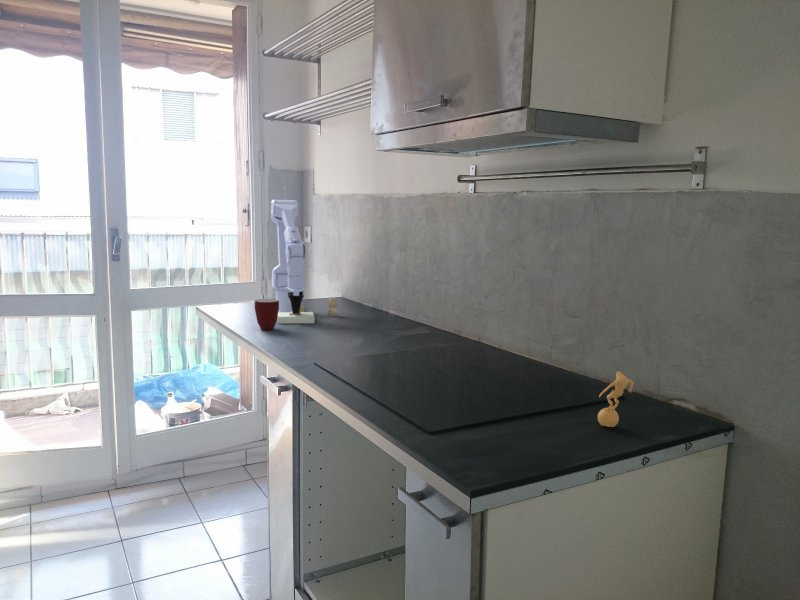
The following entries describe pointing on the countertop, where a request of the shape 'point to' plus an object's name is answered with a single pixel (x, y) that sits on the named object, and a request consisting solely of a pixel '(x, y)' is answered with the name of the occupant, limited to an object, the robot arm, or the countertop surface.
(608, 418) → the figurine
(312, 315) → the board
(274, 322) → the mug
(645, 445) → the countertop surface
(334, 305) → the dowel long
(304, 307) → the dowel short
